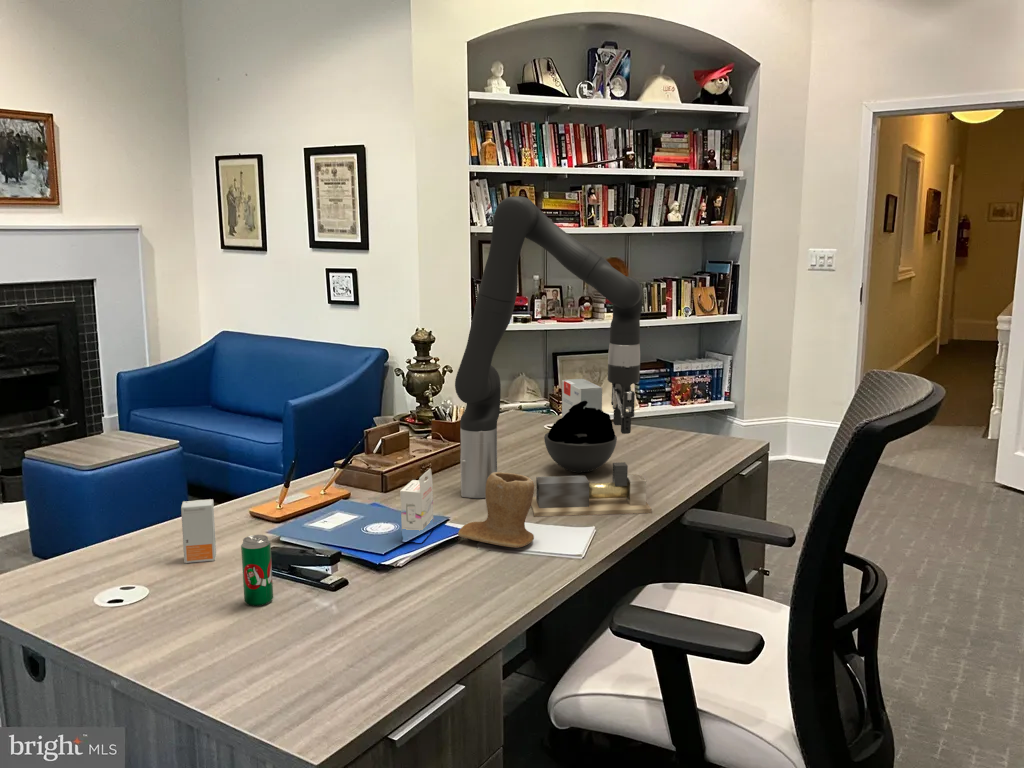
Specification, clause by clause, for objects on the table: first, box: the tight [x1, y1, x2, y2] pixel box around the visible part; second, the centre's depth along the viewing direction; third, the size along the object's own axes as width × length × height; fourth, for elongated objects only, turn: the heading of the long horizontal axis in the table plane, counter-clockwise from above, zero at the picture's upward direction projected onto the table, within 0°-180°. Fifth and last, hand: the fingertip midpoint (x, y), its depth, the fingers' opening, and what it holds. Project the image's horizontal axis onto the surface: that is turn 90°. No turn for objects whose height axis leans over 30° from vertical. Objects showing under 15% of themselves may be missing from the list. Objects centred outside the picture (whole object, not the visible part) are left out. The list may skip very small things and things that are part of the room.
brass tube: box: [589, 462, 630, 499], centre depth 208 cm, size 17×4×8 cm, turn 95°
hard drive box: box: [561, 378, 603, 418], centre depth 266 cm, size 16×8×20 cm, turn 17°
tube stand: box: [530, 473, 652, 518], centre depth 208 cm, size 28×12×7 cm, turn 95°
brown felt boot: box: [457, 471, 535, 548], centre depth 185 cm, size 15×12×15 cm
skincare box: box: [180, 498, 217, 564], centre depth 175 cm, size 6×4×12 cm
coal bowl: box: [544, 401, 618, 474], centre depth 238 cm, size 20×20×19 cm
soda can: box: [240, 534, 274, 607], centre depth 155 cm, size 5×5×12 cm
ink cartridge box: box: [399, 467, 434, 531], centre depth 187 cm, size 9×5×15 cm, turn 168°
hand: (621, 429), depth 206 cm, fingers open, 8 cm apart
